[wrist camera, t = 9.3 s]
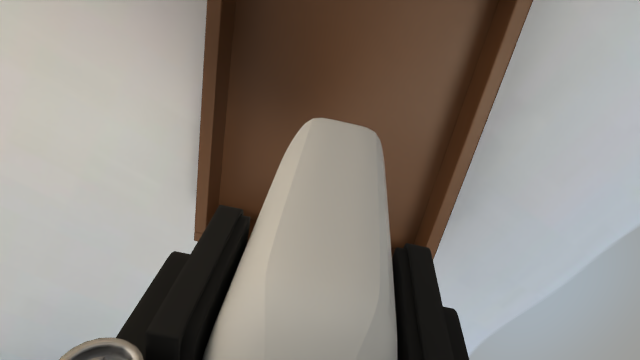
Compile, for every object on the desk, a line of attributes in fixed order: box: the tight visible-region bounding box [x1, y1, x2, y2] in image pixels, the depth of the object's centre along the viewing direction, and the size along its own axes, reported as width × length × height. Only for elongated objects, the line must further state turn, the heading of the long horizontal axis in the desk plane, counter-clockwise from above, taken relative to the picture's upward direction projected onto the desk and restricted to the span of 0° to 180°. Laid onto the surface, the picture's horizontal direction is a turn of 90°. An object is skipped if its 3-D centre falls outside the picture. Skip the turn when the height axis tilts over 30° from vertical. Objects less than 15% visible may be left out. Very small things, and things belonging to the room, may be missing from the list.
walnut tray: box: [194, 0, 533, 259], centre depth 21 cm, size 15×12×3 cm
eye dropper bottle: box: [202, 118, 397, 360], centre depth 9 cm, size 4×6×12 cm
